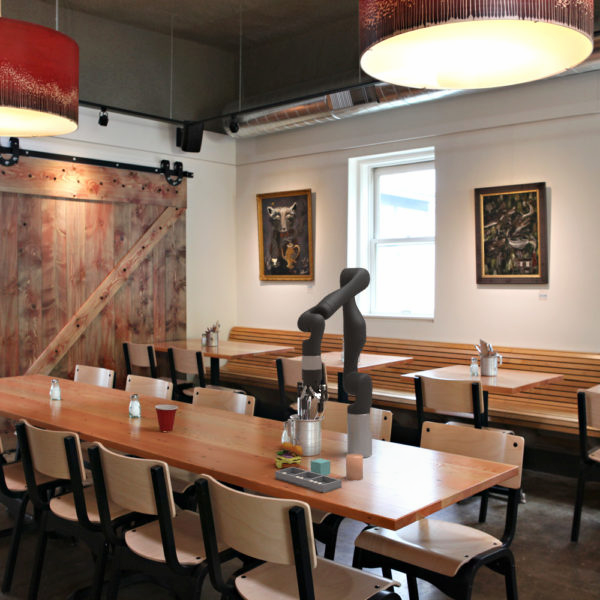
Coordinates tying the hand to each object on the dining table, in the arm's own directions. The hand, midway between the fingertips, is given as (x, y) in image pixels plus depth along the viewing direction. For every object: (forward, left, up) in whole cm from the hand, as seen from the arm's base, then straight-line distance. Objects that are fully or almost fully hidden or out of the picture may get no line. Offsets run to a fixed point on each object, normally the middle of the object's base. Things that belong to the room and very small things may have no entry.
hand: (312, 411), depth 256 cm
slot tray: (+13, +11, -22) cm, 28 cm away
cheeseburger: (+2, -11, -22) cm, 25 cm away
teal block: (+2, +6, -22) cm, 23 cm away
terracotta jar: (-3, +18, -22) cm, 29 cm away
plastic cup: (+1, -97, -22) cm, 99 cm away
